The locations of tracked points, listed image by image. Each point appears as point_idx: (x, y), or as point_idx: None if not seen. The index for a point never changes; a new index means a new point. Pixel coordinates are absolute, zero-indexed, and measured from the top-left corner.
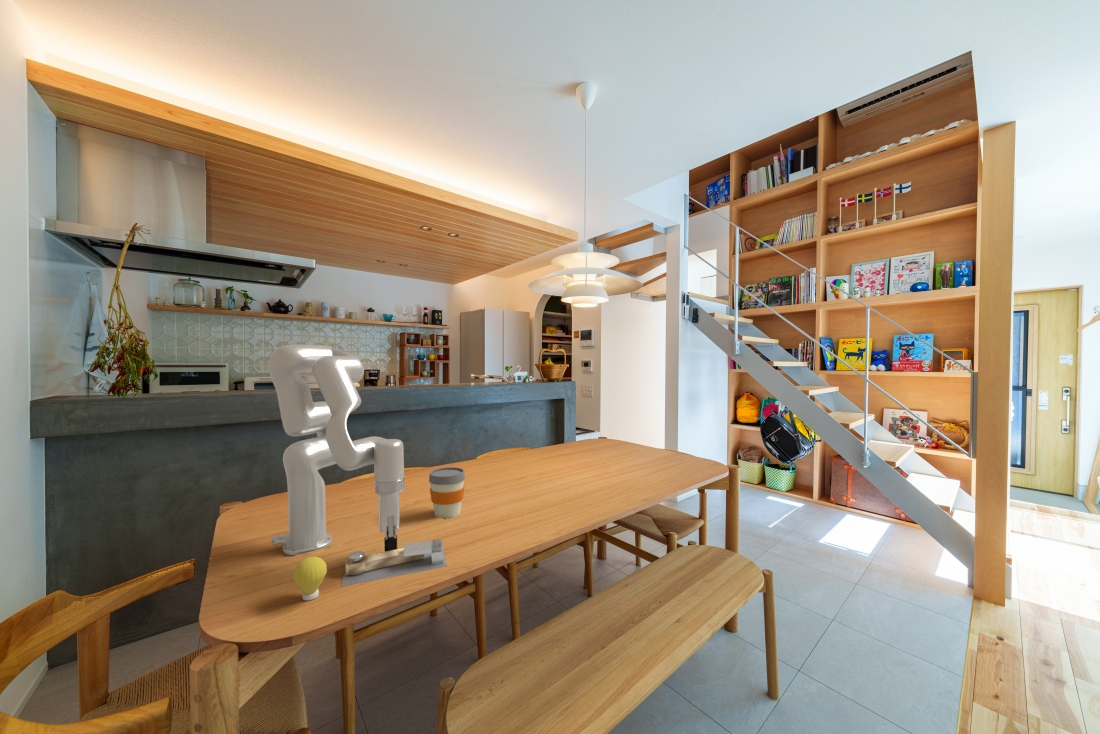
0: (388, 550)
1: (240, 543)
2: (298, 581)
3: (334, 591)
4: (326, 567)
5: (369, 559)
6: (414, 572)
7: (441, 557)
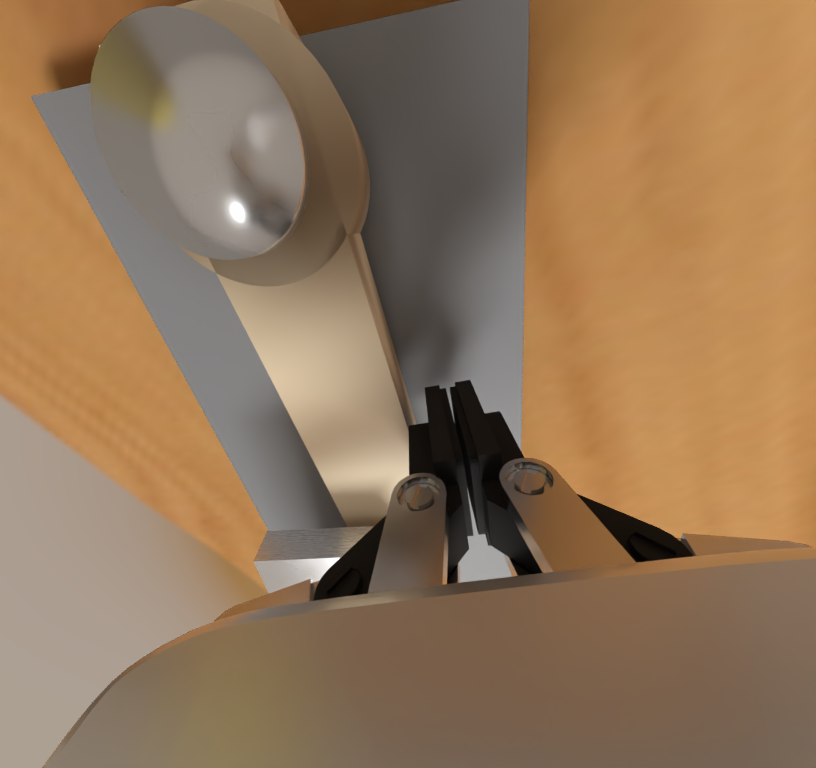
0: (410, 426)
1: None
2: None
3: (39, 41)
4: None
5: (265, 304)
6: (259, 513)
7: None
